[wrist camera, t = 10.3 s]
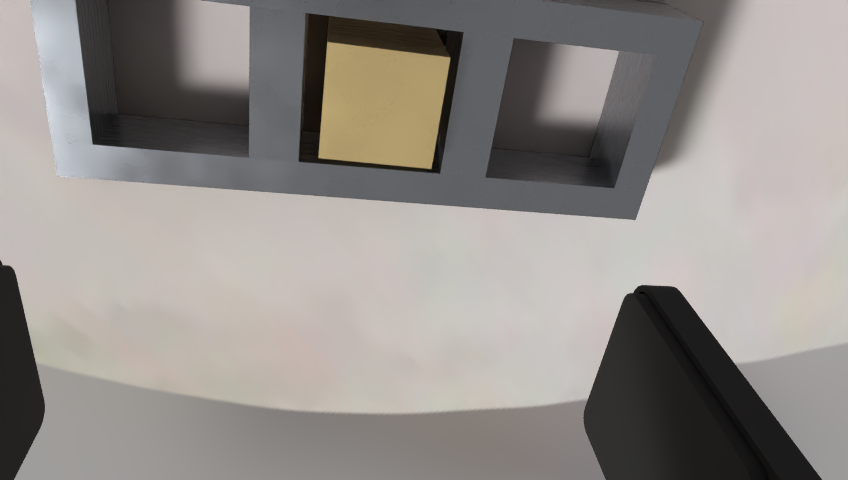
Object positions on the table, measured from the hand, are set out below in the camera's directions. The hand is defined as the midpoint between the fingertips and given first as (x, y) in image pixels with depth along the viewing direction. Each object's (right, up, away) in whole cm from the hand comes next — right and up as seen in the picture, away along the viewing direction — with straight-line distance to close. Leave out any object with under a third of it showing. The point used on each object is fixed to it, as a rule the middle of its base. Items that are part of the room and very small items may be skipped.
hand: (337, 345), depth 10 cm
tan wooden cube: (-1, +9, +19) cm, 21 cm away
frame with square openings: (-1, +9, +19) cm, 21 cm away
